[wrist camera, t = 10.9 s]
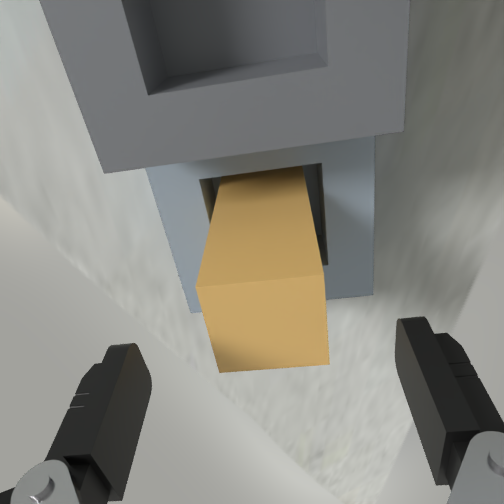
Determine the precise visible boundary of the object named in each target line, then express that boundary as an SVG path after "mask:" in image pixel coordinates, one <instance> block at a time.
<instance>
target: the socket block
mask: <svg viewBox="0 0 504 504" xmlns="http://www.w3.org/2000/svg"><path fill="white" fill-rule="evenodd" d="M39 1H40V4H41V6H42V9H43V12H44V14H45V17H46V20H47V22H48V25H49V28H50V30H51V33H52V36H53V38H54V41H55V44H56V46H57V49H58V52H59V54H60V57H61V60H62V62H63V65H64V68H65V70H66V73H67V76H68V78H69V81H70V84H71V86H72V89H73V92H74V94H75V97H76V100H77V102H78V105H79V108H80V110H81V113H82V116H83V118H84V121H85V124H86V126H87V129H88V132H89V134H90V137H91V140H92V142H93V145H94V148H95V150H96V153H97V156H98V158H99V161H100V164H101V166H102V169H103V172H104V174H105V173H113V172H120V171H127V170H134V169H141V168H145V169H146V172H147V175H148V178H149V182H150V185H151V188H152V191H153V194H154V197H155V201H156V204H157V207H158V210H159V213H160V217H161V220H162V223H163V226H164V229H165V233H166V236H167V239H168V242H169V245H170V248H171V252H172V255H173V258H174V261H175V264H176V268H177V271H178V274H179V277H180V280H181V283H182V287H183V290H184V293H185V296H186V299H187V303H188V306H189V309H190V312H191V313H197V312H202V309H201V306H200V302H199V298H198V295H197V291H196V288H195V287H196V282H197V278H198V274H199V270H200V266H201V261H202V257H203V253H204V249H205V244H206V240H207V236H208V232H209V228H210V223H211V219H212V215H213V211H214V206H215V202H216V198H217V194H218V190H219V185H220V181H221V177H222V176H228V175H235V174H243V173H250V172H257V171H265V170H272V169H279V168H287V167H294V166H302V167H303V172H304V177H305V182H306V187H307V192H308V197H309V202H310V207H311V212H312V217H313V222H314V227H315V232H316V237H317V242H318V247H319V252H320V257H321V262H322V267H323V272H324V282H325V298H326V300H328V299H339V298H349V297H359V296H369V295H373V281H374V182H375V135H383V134H390V133H397V132H404V117H405V96H406V76H407V55H408V35H409V14H410V0H39Z"/></svg>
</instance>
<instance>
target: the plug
mask: <svg viewBox="0 0 504 504" xmlns="http://www.w3.org/2000/svg"><path fill="white" fill-rule="evenodd" d="M195 288H196V291H197V295H198V298H199V302H200V306H201V309H202V313H203V316H204V320H205V323H206V327H207V330H208V334H209V337H210V341H211V345H212V348H213V352H214V355H215V359H216V362H217V366H218V369H219V373H224V372H237V371H250V370H263V369H276V368H289V367H303V366H316V365H329V364H330V362H329V346H328V330H327V314H326V298H325V282H324V272H323V267H322V262H321V257H320V252H319V247H318V242H317V237H316V232H315V227H314V222H313V217H312V212H311V207H310V202H309V197H308V192H307V187H306V182H305V177H304V172H303V167H302V166H294V167H287V168H279V169H272V170H265V171H257V172H250V173H243V174H235V175H228V176H222V177H221V181H220V185H219V190H218V194H217V198H216V202H215V206H214V211H213V215H212V219H211V223H210V228H209V232H208V236H207V240H206V244H205V249H204V253H203V257H202V261H201V266H200V270H199V274H198V278H197V282H196V287H195Z"/></svg>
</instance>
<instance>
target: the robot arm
mask: <svg viewBox="0 0 504 504" xmlns="http://www.w3.org/2000/svg"><path fill="white" fill-rule="evenodd" d="M395 362H396V368H397V372H398V376H399V379H400V382H401V384H402V387H403V390H404V393H405V396H406V399H407V402H408V405H409V408H410V411H411V414H412V417H413V419H414V422H415V425H416V428H417V431H418V434H419V437H420V440H421V443H422V446H423V449H424V452H425V454H426V457H427V460H428V463H429V466H430V469H431V472H432V475H433V478H434V481H435V484H436V485H449V486H450V489H451V494H450V496H449V499H448V502H447V504H504V422H503V421H502V419H501V417H500V415H499V413H498V411H497V410H496V408H495V406H494V404H493V402H492V401H491V398H490V397H489V395H488V393H487V391H486V389H485V387H484V386H483V384H482V382H481V380H480V378H478V376H477V373H476V371H475V369H474V367H473V366H472V365H471V363H470V360H469V358H468V356H467V354H466V353H465V351H464V349H463V347H462V346H461V345H460V344H459V343H458V342H457V341H456V340H455V339H453V338H452V337H451V336H450V335H449V334H448V333H439V334H434V333H433V331H432V329H431V327H430V324H429V322H428V320H427V319H426V318H425V317H424V316H423V317H412V318H402V319H398V320H397V326H396V342H395ZM151 390H152V382H151V375H150V373H149V370H148V368H147V366H146V364H145V362H144V359H143V357H142V355H141V352H140V350H139V348H138V346H137V345H136V344H135V343H130V344H120V345H111V346H110V347H109V348H108V350H107V352H106V354H105V356H104V359H103V361H102V363H98V364H94V365H93V366H92V367H91V369H90V370H89V371H88V372H87V373H86V374H85V375H84V377H83V378H82V380H81V382H80V384H79V386H78V389H77V391H76V393H75V394H76V395H75V396H74V397H73V400H72V402H71V404H70V409H68V411H67V413H66V415H65V417H64V419H63V422H62V424H61V426H60V428H59V430H58V433H57V435H56V437H55V439H54V441H53V444H52V446H51V448H50V450H49V452H48V455H47V457H46V459H45V460H44V462H42V463H40V464H38V465H36V466H35V467H33V468H31V469H30V470H29V471H28V472H27V473H26V474H25V475H24V476H23V477H22V478H21V479H20V480H19V482H18V483H17V485H16V487H14V488H12V489H9V490H7V491H4V492H2V493H0V504H107V502H108V501H122V499H123V495H124V492H125V488H126V484H127V481H128V477H129V473H130V469H131V465H132V462H133V458H134V455H135V451H136V447H137V444H138V439H139V436H140V432H141V429H142V425H143V421H144V418H145V414H146V410H147V407H148V403H149V399H150V395H151Z"/></svg>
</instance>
